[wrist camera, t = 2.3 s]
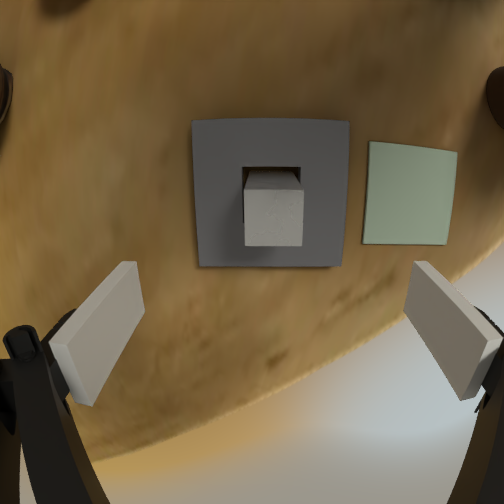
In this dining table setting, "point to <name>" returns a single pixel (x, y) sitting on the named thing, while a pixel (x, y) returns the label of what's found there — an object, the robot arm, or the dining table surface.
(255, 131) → the pocket block
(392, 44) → the dining table surface
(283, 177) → the metal peg
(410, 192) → the green mat
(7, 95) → the ceramic jug
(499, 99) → the olive oil
